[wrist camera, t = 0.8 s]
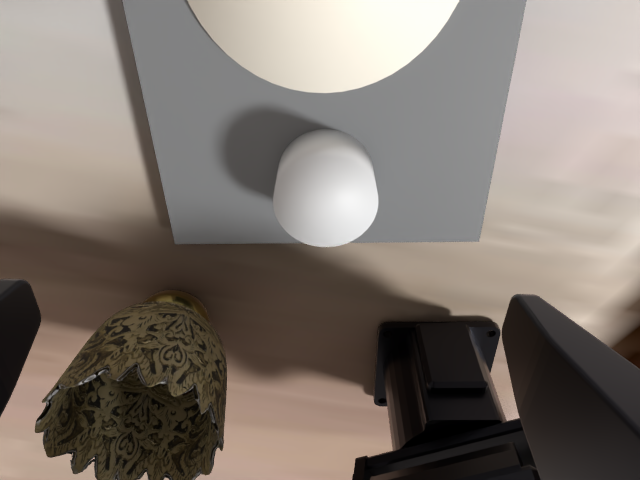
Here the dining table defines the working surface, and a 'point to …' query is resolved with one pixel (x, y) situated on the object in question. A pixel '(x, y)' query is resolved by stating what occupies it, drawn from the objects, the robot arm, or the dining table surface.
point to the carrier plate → (325, 115)
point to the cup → (142, 394)
